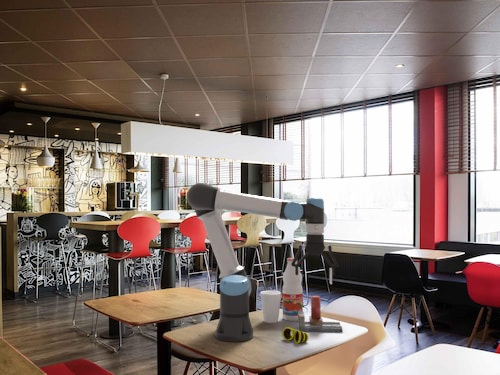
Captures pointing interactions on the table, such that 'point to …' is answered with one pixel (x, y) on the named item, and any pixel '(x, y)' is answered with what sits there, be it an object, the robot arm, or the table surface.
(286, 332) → the opera glasses
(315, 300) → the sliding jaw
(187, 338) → the table surface
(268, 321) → the foam cup
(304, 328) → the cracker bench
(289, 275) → the fruit juice
